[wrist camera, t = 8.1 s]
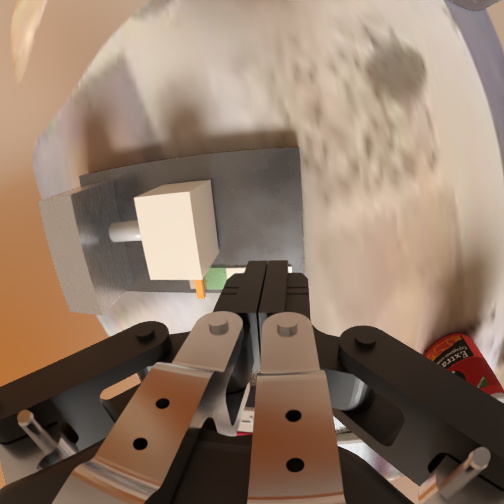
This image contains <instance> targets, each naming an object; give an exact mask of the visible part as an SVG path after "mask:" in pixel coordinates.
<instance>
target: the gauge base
mask: <svg viewBox="0 0 504 504" xmlns="http://www.w3.org/2000/svg"><path fill="white" fill-rule="evenodd" d="M79 178H80V184H81V187H78V188H75V189H72V190H69V191H66V192H63V193H60V194H58V195H55V196H52V197H50V198H47V199H44V200H42V201H39V202H38V203H39V208H40V213H41V217H42V222H43V226H44V230H45V234H46V238H47V242H48V246H49V250H50V253H51V256H52V260H53V263H54V267H55V270H56V273H57V276H58V279H59V282H60V285H61V288H62V291H63V294H64V297H65V299H66V302H67V305H68V308H69V310H70V312H78V313H86V314H95V315H104V313H105V312H106V311H107V310H108V309H109V308H110V307H111V306H112V305H113V304H114V303H115V302H116V301H117V300H118V299H119V298H120V296H121V295H122V294H123V293H124V292H125V291H142V292H186V293H197V292H196V287H195V281H194V280H150V276H149V271H148V267H147V262H146V258H145V253H144V249H143V244H142V241H124V242H113V241H112V240H111V239H110V236H109V227H110V225H111V224H112V223H113V222H123V221H134V220H138V218H137V213H136V207H135V201H134V197H137V196H139V195H141V194H143V193H146V192H148V191H150V190H152V189H155V188H157V187H159V186H162V185H165V184H174V183H183V182H192V181H202V180H211V189H212V198H213V207H214V215H215V223H216V231H217V239H218V247H219V253H218V255H217V257H216V258H215V260H214V262H213V263H212V265H211V266H210V268H209V270H208V271H207V273H206V275H205V277H204V278H203V283H204V289H205V293H221V292H222V290H223V288H224V285H225V283H226V280H227V279H228V278H229V277H231V276H232V275H233V274H235V273H244V272H245V269H246V266H247V263H248V261H262V260H268V262H269V260H288V273H300V272H302V273H303V274H304V258H303V217H302V191H301V171H300V154H299V147H285V148H267V149H252V150H240V151H229V152H219V153H209V154H201V155H193V156H185V157H178V158H171V159H164V160H157V161H151V162H145V163H139V164H134V165H128V166H123V167H118V168H113V169H108V170H103V171H98V172H94V173H89V174H85V175H82V176H79Z"/></svg>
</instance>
